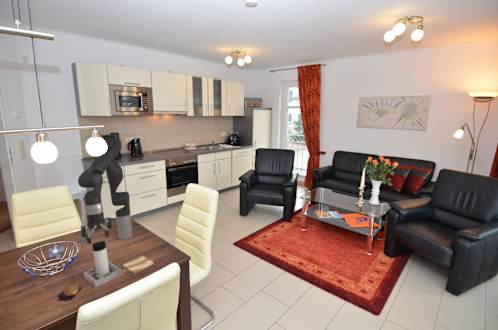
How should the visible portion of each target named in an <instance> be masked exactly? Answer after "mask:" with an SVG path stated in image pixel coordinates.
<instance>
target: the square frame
mask: <svg viewBox="0 0 498 330" xmlns="http://www.w3.org/2000/svg"><path fill="white" fill-rule="evenodd" d="M108 266H109V270H111V271H112V272H111V271H109V273H107V274H105V275H104V277H102V278H100V279H96V278H94V277H93V275H96V271H95V265H94V266H93V267H92V268H90V269H88V270H86V271H84V272H83V276H84V277H83V279H85V280H86V281H87V282H88V283H90V284H91V285H92V286H93V287H94V288H95V289H96V288H98V287H100V286H102V285H104V284H105V283H108V282H109V281H111V280H113V279H115V278H117V277H119V276H121V275H122V269H121V268H119V267H118V266H117V265H115V264H114V263H112V262H111V260H108Z"/></svg>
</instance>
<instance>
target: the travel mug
mask: <svg viewBox="0 0 498 330" xmlns="http://www.w3.org/2000/svg"><path fill="white" fill-rule="evenodd" d="M91 246H92V247H91V248H92V253H93V261H94V262H93V263H94V266H95V271H96V273H95V275H96V278H95V279H96V280H98V279H100V278H102V277H104V275H105V274H107V273H109V272H110V268H109V266H108V261H109V259H108V251H107V244H106V241H104V240H102V241H95V242H94V243H93V244H92V243H91Z"/></svg>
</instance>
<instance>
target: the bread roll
mask: <svg viewBox="0 0 498 330" xmlns="http://www.w3.org/2000/svg"><path fill="white" fill-rule="evenodd" d="M82 289H83V284H81V285H78V284H70V285H67V286H65V289H64V290H62V291H61V292H60V293H59V294H58V299H57V301H58V302H63V301H64V302H67V301H71V300H74V299H75V298H76V297H77V296H78V294H79V293H80V292H81V290H82Z"/></svg>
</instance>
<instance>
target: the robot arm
mask: <svg viewBox="0 0 498 330" xmlns="http://www.w3.org/2000/svg"><path fill="white" fill-rule="evenodd" d="M102 138H103V139H104V140H105V141H106V143H107V145H108V150H107V152H106V153H105V154H103V155H102V154H101V155H99V156H98V157H96V158H95V159H94V161H92V163H91V165H90V166H89V167H88V168H87V169H86V170H84V171H83V172H82V173H81V174H80V175H79V177H78V178H77V179H78V180H77V182H78V185H79V186H80V187H81V188H84V189H85V188H87V189H89V188H92V189H93V190H90V191H87V192H85V193H84V200H85V201H84V202H85V214H86V221H87V224H85V225H80V235H81V237H82V238H83V239H86V243H87V244H89V245H92V237H91V236H92V234H93V233H94V232H96V231H98V230H101V229H104V237H105V238H109V236H110V230H111V229H113V224H112V223H113V222H112V218H110V217H109V216H108V217H106V218H105V213H104V205H103V203H102V202H103V201H102V195H101V194H102V188H103V184H104V178H103V175H104V173H105V174H106V179H107V181H108V186H109V192H110V197H111V198H110V199H111V200H110V201H111V205H113V206H114V207H120V206H123V207H121V208H119V209H117V210H116V211H115V220H116V232H117V239H118V240H121V241H124V240H129V239H131V238H132V237H133V225H132V216H131V206H130V204H131V203H130V194H129V193H130V192H128V191H119V192H117V190H118V187H119V186H120V184H122V182H123V180H124V173H123V169H122V168H123V167H122V166H121V165H120V164H119V163H118V162H117V161H116V160H115V158H116V157H117V156H118V155H119V153H120V152H121V151H122V140H121V139H120V138H117V137H106V136H105V137H102ZM105 223H107V226H106V225H105ZM87 228H88V229H87Z"/></svg>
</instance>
